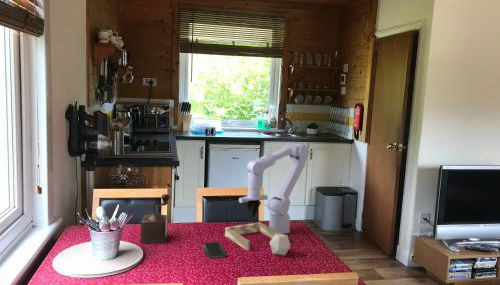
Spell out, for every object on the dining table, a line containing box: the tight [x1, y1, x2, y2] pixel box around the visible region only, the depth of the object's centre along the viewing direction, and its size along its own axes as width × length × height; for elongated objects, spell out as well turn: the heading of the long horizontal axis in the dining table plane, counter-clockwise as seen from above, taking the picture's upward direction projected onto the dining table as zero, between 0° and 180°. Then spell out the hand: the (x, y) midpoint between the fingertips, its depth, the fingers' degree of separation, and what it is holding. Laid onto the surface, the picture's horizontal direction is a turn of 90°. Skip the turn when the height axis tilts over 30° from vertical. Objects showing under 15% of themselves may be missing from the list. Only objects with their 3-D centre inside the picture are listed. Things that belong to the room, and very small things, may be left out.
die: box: [269, 234, 291, 257], centre depth 168 cm, size 8×9×10 cm
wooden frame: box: [224, 222, 284, 251], centre depth 183 cm, size 19×19×4 cm
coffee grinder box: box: [140, 193, 171, 244], centre depth 179 cm, size 16×11×18 cm
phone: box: [201, 241, 227, 259], centre depth 168 cm, size 8×1×15 cm
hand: (252, 216), depth 186 cm, fingers closed
